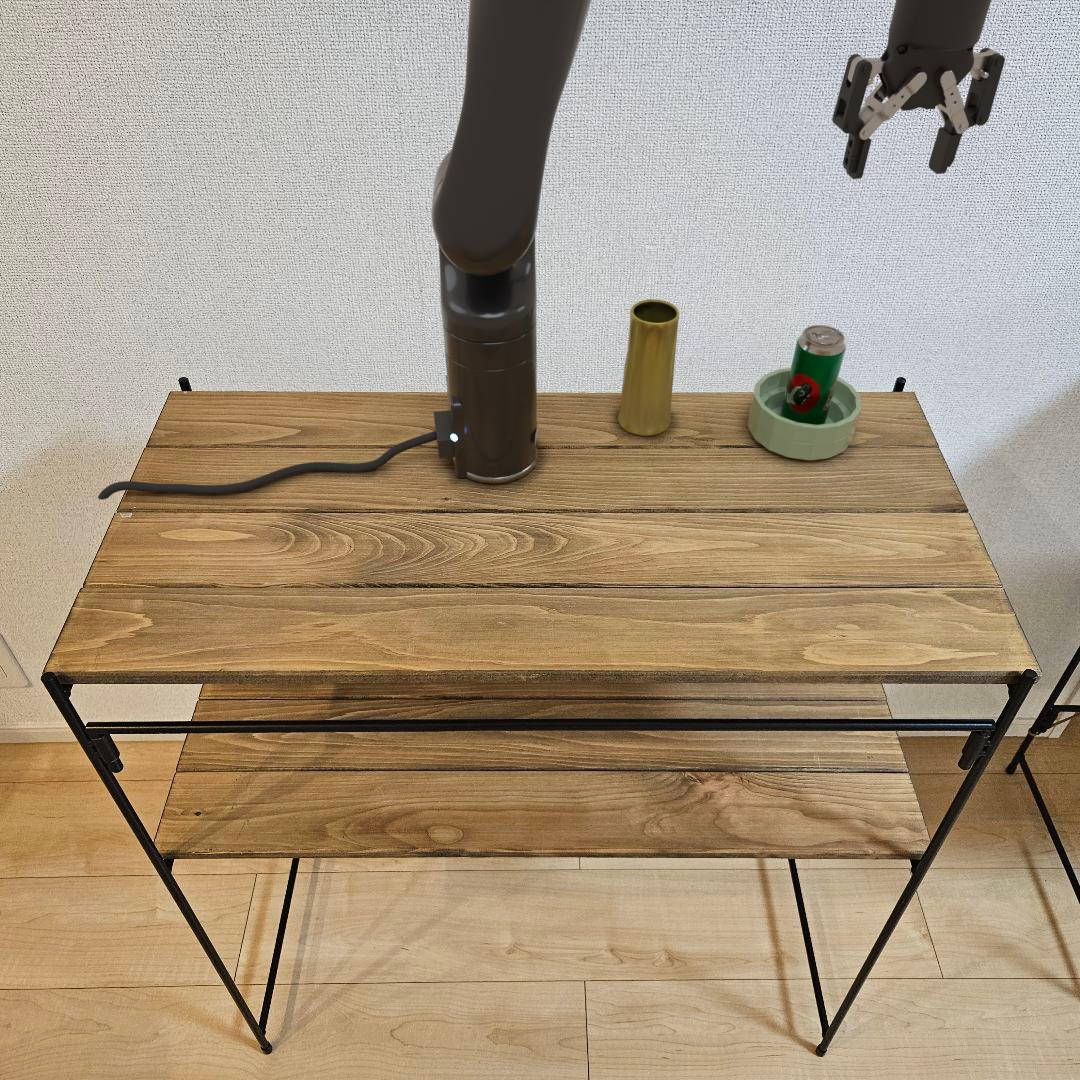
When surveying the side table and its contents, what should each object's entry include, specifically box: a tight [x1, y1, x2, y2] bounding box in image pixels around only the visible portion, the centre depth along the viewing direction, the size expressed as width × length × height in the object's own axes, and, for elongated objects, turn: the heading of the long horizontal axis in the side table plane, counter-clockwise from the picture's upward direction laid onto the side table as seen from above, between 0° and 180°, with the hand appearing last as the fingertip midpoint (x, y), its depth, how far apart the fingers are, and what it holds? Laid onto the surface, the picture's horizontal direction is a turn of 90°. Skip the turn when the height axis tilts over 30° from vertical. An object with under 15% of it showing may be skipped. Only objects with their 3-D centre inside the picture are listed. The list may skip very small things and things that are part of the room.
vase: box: [617, 298, 680, 437], centre depth 99 cm, size 6×6×14 cm
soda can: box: [780, 324, 847, 425], centre depth 98 cm, size 5×5×12 cm
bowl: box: [747, 367, 862, 461], centre depth 100 cm, size 12×12×5 cm
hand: (895, 173), depth 85 cm, fingers open, 8 cm apart
